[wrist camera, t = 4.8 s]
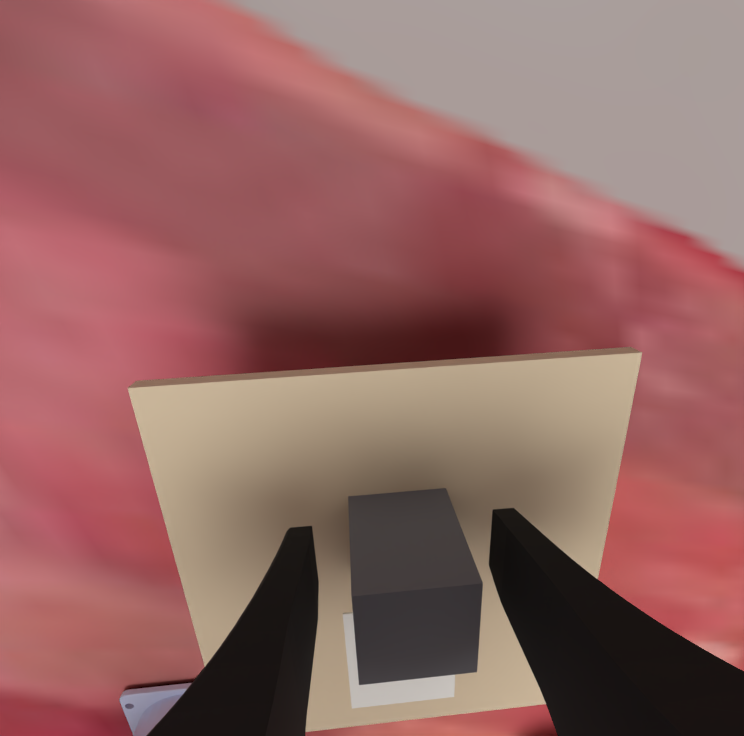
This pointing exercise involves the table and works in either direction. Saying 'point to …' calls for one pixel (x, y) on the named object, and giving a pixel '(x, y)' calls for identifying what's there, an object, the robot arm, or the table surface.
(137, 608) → the table surface
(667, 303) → the table surface
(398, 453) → the carton lid
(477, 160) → the table surface
